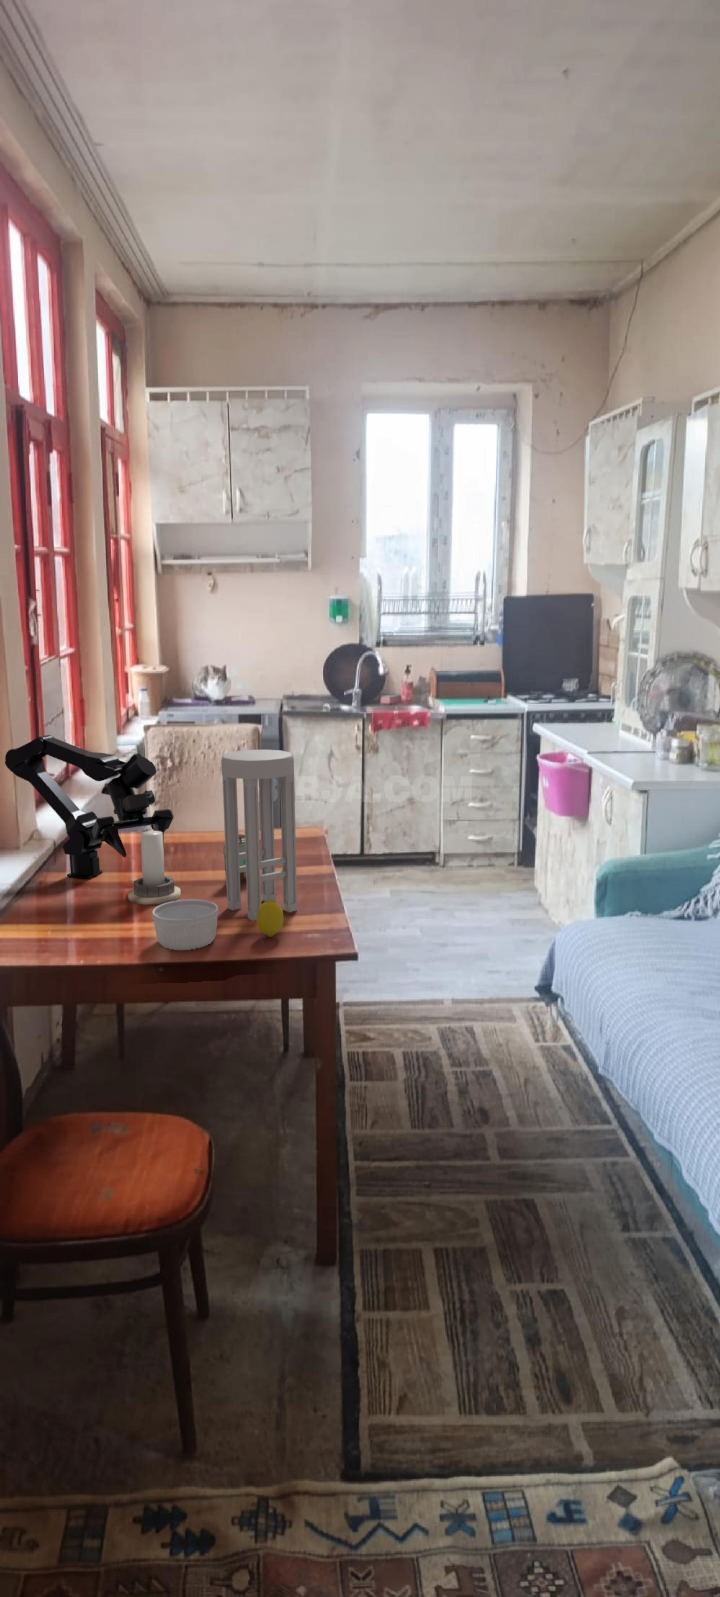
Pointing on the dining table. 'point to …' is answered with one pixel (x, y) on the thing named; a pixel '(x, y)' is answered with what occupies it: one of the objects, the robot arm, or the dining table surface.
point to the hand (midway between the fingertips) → (144, 853)
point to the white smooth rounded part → (152, 858)
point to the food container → (241, 861)
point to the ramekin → (185, 924)
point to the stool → (265, 769)
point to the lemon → (269, 918)
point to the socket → (154, 892)
